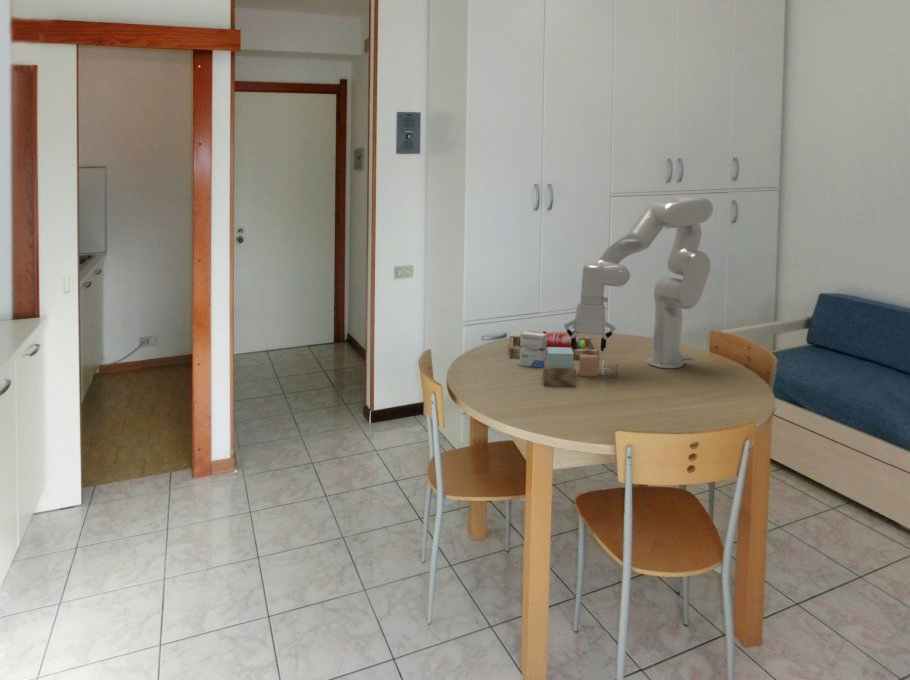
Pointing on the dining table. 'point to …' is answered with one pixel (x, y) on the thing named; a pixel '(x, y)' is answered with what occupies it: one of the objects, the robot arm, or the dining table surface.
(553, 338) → the water bottle
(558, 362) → the teal block
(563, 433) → the dining table surface
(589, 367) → the rust cube
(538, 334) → the ink box
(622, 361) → the dining table surface
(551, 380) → the walnut block
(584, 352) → the bottle cradle
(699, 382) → the dining table surface
